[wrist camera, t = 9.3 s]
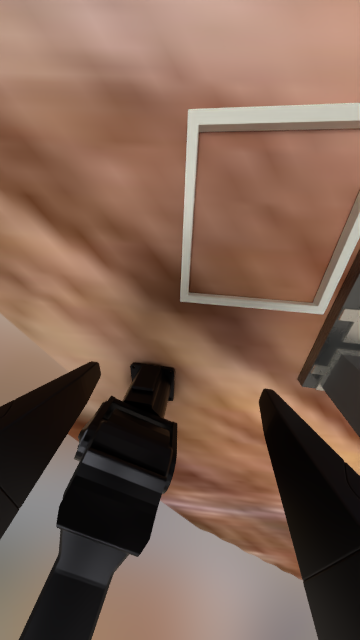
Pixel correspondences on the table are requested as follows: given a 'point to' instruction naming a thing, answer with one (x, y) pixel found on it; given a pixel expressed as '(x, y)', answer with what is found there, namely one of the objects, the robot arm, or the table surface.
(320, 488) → the robot arm
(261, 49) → the table surface
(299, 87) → the table surface
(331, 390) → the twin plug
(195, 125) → the white square frame
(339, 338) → the strip
